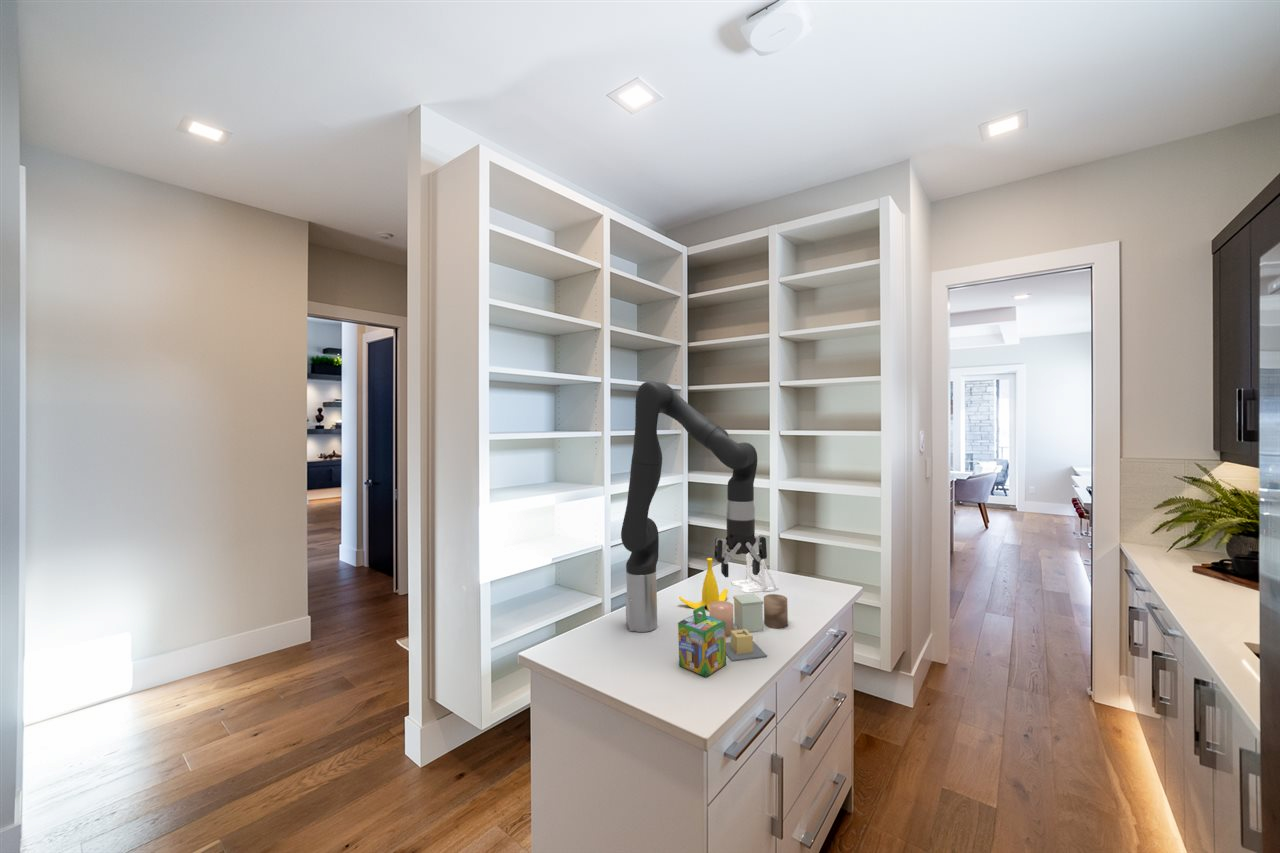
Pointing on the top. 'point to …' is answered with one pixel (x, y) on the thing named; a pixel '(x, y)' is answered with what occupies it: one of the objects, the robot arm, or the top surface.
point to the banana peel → (708, 590)
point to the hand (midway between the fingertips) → (740, 575)
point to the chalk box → (702, 643)
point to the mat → (745, 656)
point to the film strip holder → (754, 585)
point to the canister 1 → (723, 614)
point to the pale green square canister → (748, 612)
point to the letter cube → (741, 641)
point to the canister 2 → (775, 611)
